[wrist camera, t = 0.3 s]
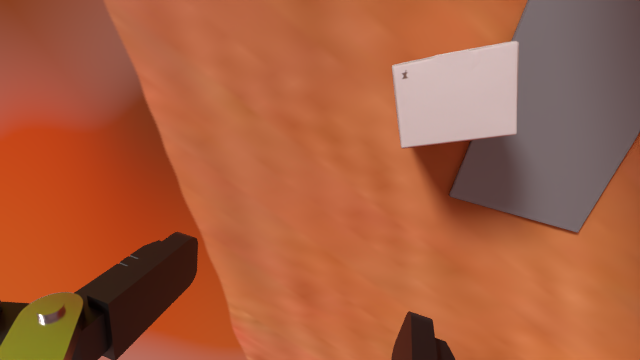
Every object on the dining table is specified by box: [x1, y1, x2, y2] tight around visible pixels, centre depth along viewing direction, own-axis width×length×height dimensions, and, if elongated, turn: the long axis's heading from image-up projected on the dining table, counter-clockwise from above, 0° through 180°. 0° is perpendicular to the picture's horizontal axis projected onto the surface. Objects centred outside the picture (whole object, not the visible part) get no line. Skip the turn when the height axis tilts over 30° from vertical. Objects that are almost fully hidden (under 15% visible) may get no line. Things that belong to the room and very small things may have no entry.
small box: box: [392, 41, 519, 148], centre depth 27 cm, size 8×6×13 cm
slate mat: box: [449, 0, 640, 232], centre depth 31 cm, size 22×14×1 cm, turn 167°
